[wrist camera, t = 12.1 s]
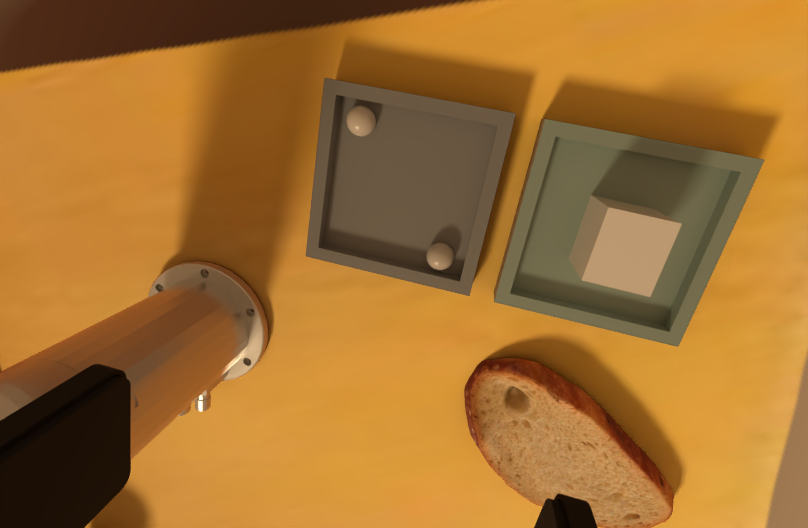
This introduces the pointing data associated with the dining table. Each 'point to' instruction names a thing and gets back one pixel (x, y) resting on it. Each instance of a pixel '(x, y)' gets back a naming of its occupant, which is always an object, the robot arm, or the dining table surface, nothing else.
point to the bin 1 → (405, 183)
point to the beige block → (622, 245)
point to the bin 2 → (631, 183)
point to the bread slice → (561, 444)
